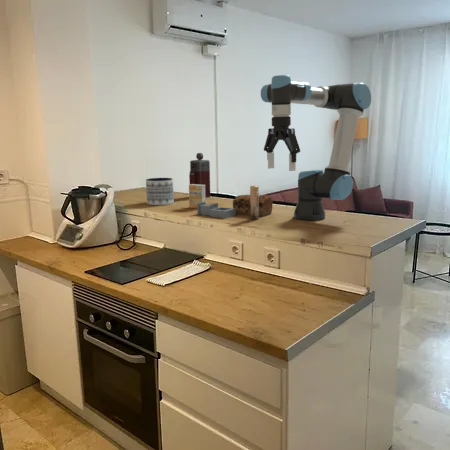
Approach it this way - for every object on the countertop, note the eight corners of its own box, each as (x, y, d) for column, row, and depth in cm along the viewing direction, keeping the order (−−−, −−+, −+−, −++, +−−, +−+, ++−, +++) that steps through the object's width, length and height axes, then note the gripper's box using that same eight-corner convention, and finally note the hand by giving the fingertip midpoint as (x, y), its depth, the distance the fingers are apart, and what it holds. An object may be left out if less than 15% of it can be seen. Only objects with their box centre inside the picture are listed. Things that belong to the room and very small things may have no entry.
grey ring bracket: (205, 211, 247) (205, 201, 246) (236, 215, 237) (236, 203, 236) (195, 215, 239) (195, 203, 238) (226, 218, 230) (226, 206, 228)
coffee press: (188, 197, 298) (186, 153, 292) (200, 195, 306) (199, 152, 300) (198, 198, 292) (197, 153, 286) (210, 196, 300) (209, 152, 295)
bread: (273, 214, 240) (273, 194, 238) (262, 217, 231) (262, 197, 229) (243, 210, 251) (243, 192, 249) (231, 213, 242) (231, 194, 240)
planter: (179, 202, 280) (178, 178, 277) (162, 206, 267) (161, 181, 264) (158, 200, 288) (157, 177, 285) (141, 204, 275) (140, 180, 272)
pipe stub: (252, 217, 229) (252, 185, 226) (260, 218, 227) (260, 186, 224) (248, 219, 226) (248, 186, 223) (256, 220, 224) (256, 187, 221)
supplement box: (188, 208, 259) (188, 184, 257) (192, 206, 264) (192, 183, 261) (202, 209, 256) (201, 185, 254) (206, 207, 261) (205, 184, 258)
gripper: (254, 116, 194) (255, 168, 198) (294, 115, 173) (294, 172, 178) (269, 116, 197) (269, 166, 202) (309, 115, 177) (309, 171, 182)
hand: (281, 169), depth 190 cm, fingers open, 13 cm apart
